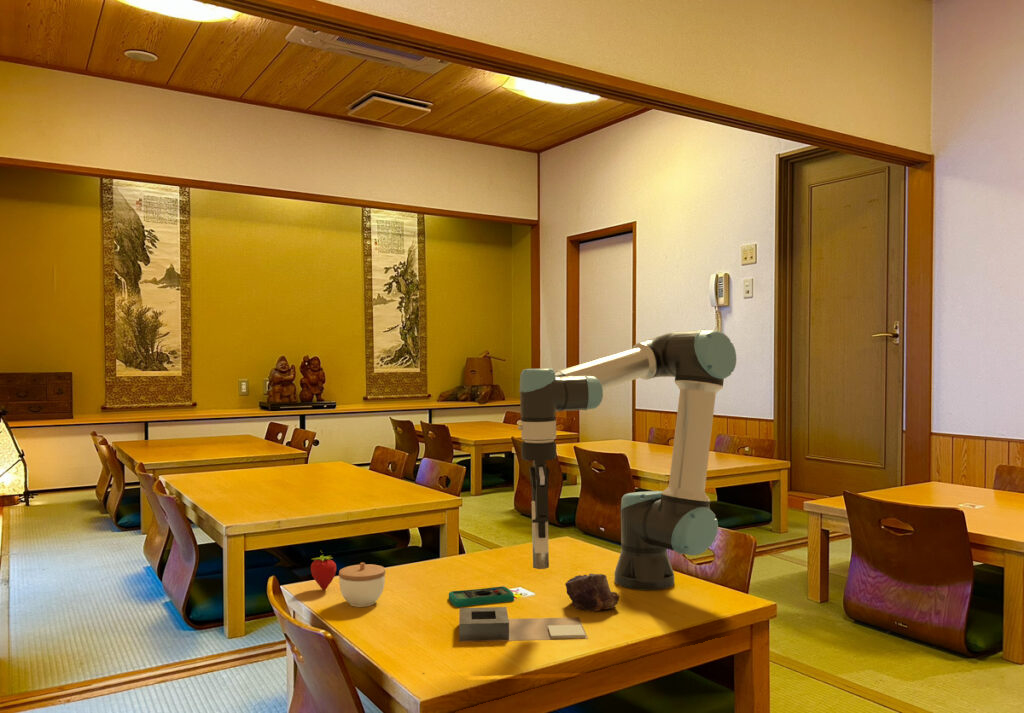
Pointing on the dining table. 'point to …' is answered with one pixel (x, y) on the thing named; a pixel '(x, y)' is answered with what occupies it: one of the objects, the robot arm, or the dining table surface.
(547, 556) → the silver metal post
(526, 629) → the board
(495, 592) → the digital multimeter
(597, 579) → the rock
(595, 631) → the dining table surface
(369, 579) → the lidded jar
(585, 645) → the dining table surface
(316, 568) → the strawberry
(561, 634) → the pad
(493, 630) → the block
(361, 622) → the dining table surface
